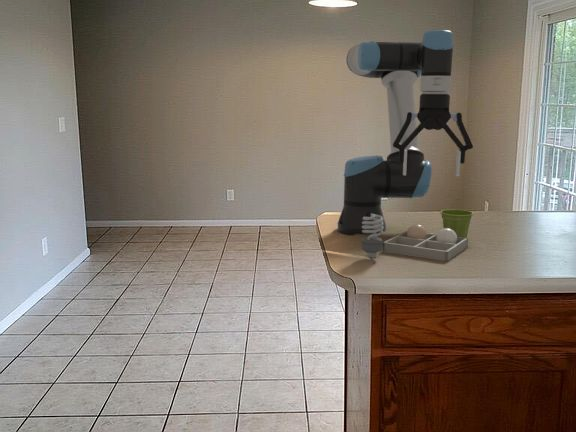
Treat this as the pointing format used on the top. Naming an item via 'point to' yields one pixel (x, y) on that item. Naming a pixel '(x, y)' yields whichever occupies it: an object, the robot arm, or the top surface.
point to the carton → (424, 247)
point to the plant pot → (457, 221)
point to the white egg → (446, 236)
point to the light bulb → (372, 235)
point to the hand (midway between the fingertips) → (430, 175)
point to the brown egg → (417, 232)
